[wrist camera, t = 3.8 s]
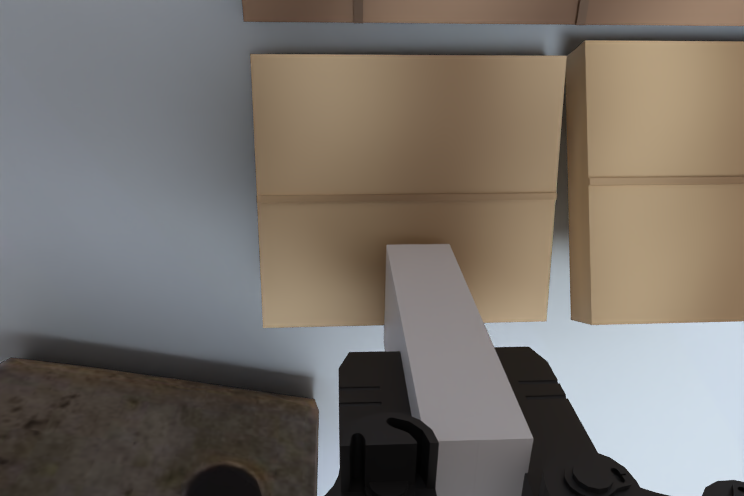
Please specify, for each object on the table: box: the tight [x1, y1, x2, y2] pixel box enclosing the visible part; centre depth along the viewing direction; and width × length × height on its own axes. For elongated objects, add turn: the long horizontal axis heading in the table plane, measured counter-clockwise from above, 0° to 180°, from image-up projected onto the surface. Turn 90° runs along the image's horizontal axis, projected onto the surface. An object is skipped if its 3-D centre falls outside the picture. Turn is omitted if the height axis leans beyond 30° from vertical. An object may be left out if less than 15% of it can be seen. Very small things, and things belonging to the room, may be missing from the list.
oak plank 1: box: [250, 54, 567, 328], centre depth 15 cm, size 7×6×1 cm
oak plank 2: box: [565, 40, 744, 325], centre depth 15 cm, size 7×6×1 cm
